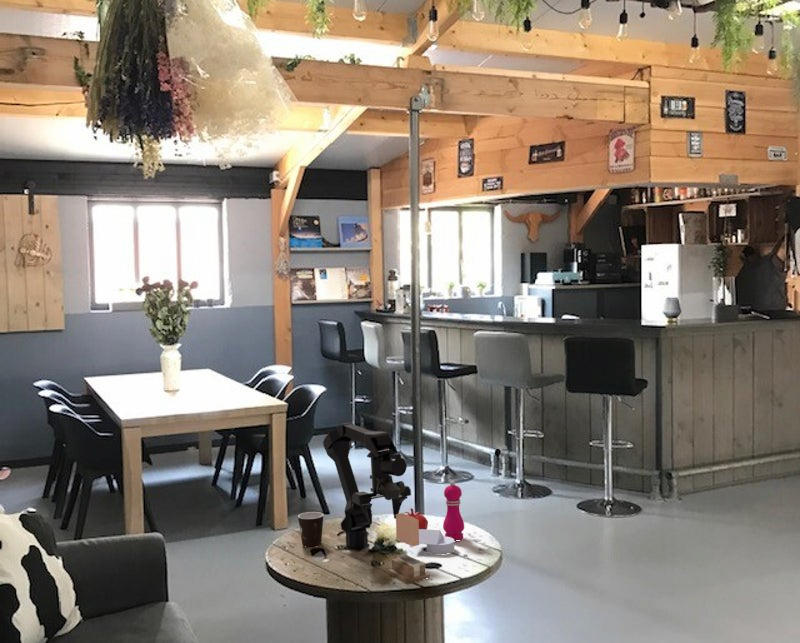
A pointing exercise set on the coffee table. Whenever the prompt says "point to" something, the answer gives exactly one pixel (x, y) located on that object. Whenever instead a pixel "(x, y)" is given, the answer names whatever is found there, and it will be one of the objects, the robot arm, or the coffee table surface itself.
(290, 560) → the coffee table surface
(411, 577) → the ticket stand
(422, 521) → the pomegranate
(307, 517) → the coffee mug
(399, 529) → the peach rectangular panel
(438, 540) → the wedge on round base
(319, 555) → the coffee table surface
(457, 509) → the pepper mill
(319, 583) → the coffee table surface
